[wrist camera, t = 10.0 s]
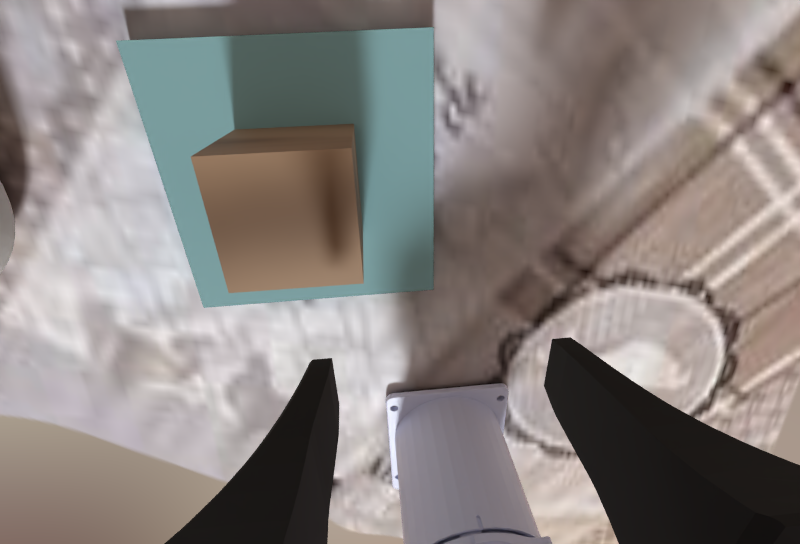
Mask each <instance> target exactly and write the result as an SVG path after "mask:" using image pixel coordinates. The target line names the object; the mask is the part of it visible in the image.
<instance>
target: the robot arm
mask: <svg viewBox="0 0 800 544" xmlns="http://www.w3.org/2000/svg"><path fill="white" fill-rule="evenodd" d="M544 387H545V389H546V392H547V395H548V397H549V400H550V403H551V405H552V408H553V410H554V412H555V415H556V417H557V419H558V420H559V422H560V424H561V426H562V428H563V430H564V431H565V433H566V435H567V437H568V439H569V441H570V442H571V444H572V446H573V448H574V450H575V451H576V453H577V455H578V457H579V459H580V461H581V462H582V464H583V466H584V468H585V470H586V471H587V473H588V475H589V477H590V479H591V481H592V483H593V485H594V487H595V489H596V491H597V493H598V495H599V497H600V500H601V502H602V504H603V507H604V509H605V511H606V514H607V516H608V518H609V520H610V523H611V525H612V528H613V530H614V533H615V535H616V538H617V540H618V542H619V544H800V465H797V464H795V463H792V462H790V461H787V460H785V459H782V458H779V457H777V456H775V455H772V454H770V453H767V452H765V451H763V450H760V449H758V448H756V447H753V446H751V445H749V444H746V443H744V442H742V441H740V440H737V439H735V438H733V437H731V436H729V435H727V434H725V433H723V432H721V431H718V430H716V429H714V428H712V427H710V426H708V425H706V424H704V423H702V422H700V421H698V420H697V419H695V418H693V417H691V416H689V415H688V414H686V413H684V412H682V411H680V410H678V409H677V408H675V407H673V406H671V405H670V404H668V403H666V402H664V401H663V400H661V399H660V398H658V397H656V396H655V395H653V394H652V393H650V392H648V391H647V390H645V389H644V388H642V387H641V386H639V385H638V384H636V383H634V382H633V381H631V380H630V379H629V378H627V377H626V376H624V375H623V374H621V373H620V372H618V371H617V370H616V369H614V368H613V367H611V366H610V365H608V364H607V363H606V362H604V361H603V360H601V359H600V358H599V357H597V356H596V355H595V354H593V353H592V352H590V351H589V350H588V349H586V348H585V347H583V346H582V345H581V344H579V343H578V342H576V341H575V340H573V339H572V338H559V339H552V344H551V349H550V355H549V360H548V366H547V372H546V377H545V383H544ZM508 392H509V391H508V388H507V386H506V385H505V384H503V383H498V384H487V385H477V386H466V387H455V388H444V389H433V390H422V391H411V392H401V393H392V394H389V395H388V396H387V397H386V409H387V422H388V435H389V447H390V460H391V473H392V486H393V487H394V488H395V489H399V494H400V505H401V517H402V528H403V540H404V544H552V542H551V539H550V537H548V536H546V537H541V536H540V534H539V531H538V528H537V525H536V523H535V520H534V517H533V515H532V512H531V509H530V507H529V504H528V501H527V498H526V496H525V493H524V490H523V488H522V485H521V482H520V479H519V477H518V474H517V471H516V469H515V466H514V463H513V461H512V458H511V455H510V452H509V450H508V447H507V444H506V442H505V439H504V436H503V433H504V425H505V417H506V408H507V400H508ZM498 396H500V397H498ZM392 406H395V407H392ZM338 436H339V401H338V394H337V388H336V381H335V375H334V369H333V362H332V358H328V359H317V360H312V361H311V362H310V363H309V365H308V368H307V370H306V372H305V374H304V376H303V378H302V380H301V382H300V383H299V385H298V387H297V389H296V391H295V392H294V394H293V396H292V397H291V399H290V401H289V402H288V404H287V406H286V407H285V409H284V411H283V412H282V414H281V415H280V417H279V418H278V420H277V421H276V423H275V424H274V426H273V427H272V429H271V430H270V432H269V433H268V434H267V436H266V437H265V439H264V440H263V441H262V443H261V444H260V445H259V447H258V448H257V449H256V451H255V452H254V453H253V454H252V456H251V457H250V458H249V459H248V460H247V462H246V463H245V464H244V465H243V466H242V468H241V469H240V470H239V471H238V472H237V473H236V474H235V476H234V477H233V478H232V479H231V480H230V481H229V482H228V483H227V485H226V486H225V487H224V488H223V489H222V490H221V491H220V492H219V493H218V494H217V495H216V496H215V497H214V498H213V499H212V500H211V501H210V502H209V503H208V504H207V505H206V506H205V507H204V508H203V509H202V510H201V511H200V512H199V513H198V514H197V515H196V516H195V517H194V518H193V519H192V520H191V521H190V522H189V523H187V524H186V525H185V526H184V527H183V528H182V529H181V530H180V531H179V532H177V533H176V534H175V535H174V536H173V537H172V538H171V539H170V540H168V541H167V542H166V543H165V544H327V537H328V517H329V506H330V498H331V490H332V483H333V475H334V467H335V460H336V452H337V444H338Z"/></svg>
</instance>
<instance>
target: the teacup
mask: <svg viewBox="0 0 800 544" xmlns="http://www.w3.org/2000/svg"><path fill="white" fill-rule="evenodd" d="M14 239H15V221H14V215H13V211H12V207H11V203H10V201H9V199H8V196H7V194H6V192H5V189H4V187H3V185H2V183H1V181H0V273H1V272H2V271H3V269H4V268H5V266H6V264H7V262H8V260H9V258H10V255H11V253H12V250H13V245H14Z"/></svg>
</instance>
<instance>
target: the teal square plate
mask: <svg viewBox="0 0 800 544" xmlns="http://www.w3.org/2000/svg"><path fill="white" fill-rule="evenodd" d="M116 42H117V45H118V48H119V51H120V54H121V57H122V60H123V63H124V66H125V69H126V73H127V76H128V79H129V82H130V85H131V88H132V91H133V94H134V97H135V100H136V103H137V106H138V109H139V112H140V115H141V118H142V121H143V124H144V127H145V130H146V133H147V136H148V140H149V143H150V146H151V149H152V152H153V155H154V158H155V161H156V164H157V167H158V170H159V173H160V176H161V179H162V182H163V185H164V188H165V191H166V194H167V197H168V200H169V204H170V207H171V210H172V213H173V216H174V219H175V222H176V225H177V228H178V231H179V234H180V237H181V240H182V243H183V246H184V249H185V252H186V255H187V258H188V261H189V264H190V267H191V271H192V274H193V277H194V280H195V283H196V286H197V289H198V292H199V295H200V298H201V301H202V304H203V307H204V308H206V307H219V306H231V305H244V304H257V303H270V302H282V301H295V300H308V299H321V298H333V297H346V296H359V295H372V294H384V293H397V292H410V291H423V290H434V27H427V28H404V29H380V30H357V31H334V32H310V33H287V34H263V35H240V36H217V37H193V38H170V39H147V40H123V41H116ZM337 124H354V130H355V142H356V154H357V166H358V178H359V189H360V201H361V213H362V225H363V270H364V284H350V285H336V286H322V287H308V288H294V289H280V290H267V291H253V292H239V293H229V292H228V289H227V285H226V282H225V278H224V275H223V271H222V267H221V264H220V260H219V257H218V253H217V250H216V246H215V242H214V239H213V235H212V232H211V228H210V225H209V221H208V217H207V214H206V210H205V207H204V203H203V200H202V196H201V192H200V189H199V185H198V182H197V178H196V175H195V171H194V167H193V164H192V160H191V156H192V155H194V154H196V153H197V152H199V151H200V150H202V149H204V148H205V147H207V146H209V145H210V144H212V143H213V142H215V141H217V140H218V139H220V138H222V137H223V136H225V135H226V134H228V133H230V132H231V131H233V130H235V129H256V128H276V127H296V126H316V125H337Z"/></svg>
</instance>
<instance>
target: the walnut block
mask: <svg viewBox="0 0 800 544" xmlns="http://www.w3.org/2000/svg"><path fill="white" fill-rule="evenodd" d="M191 160H192V164H193V167H194V171H195V175H196V178H197V182H198V185H199V189H200V192H201V196H202V200H203V203H204V207H205V210H206V214H207V217H208V221H209V225H210V228H211V232H212V235H213V239H214V242H215V246H216V250H217V253H218V257H219V260H220V264H221V267H222V271H223V275H224V278H225V282H226V285H227V289H228V292H229V293H239V292H253V291H267V290H280V289H294V288H308V287H322V286H336V285H350V284H364V270H363V225H362V213H361V201H360V189H359V178H358V166H357V154H356V142H355V130H354V124H337V125H316V126H296V127H276V128H256V129H235V130H233V131H231V132H230V133H228V134H226V135H225V136H223V137H222V138H220V139H218V140H217V141H215V142H213V143H212V144H210V145H209V146H207V147H205V148H204V149H202V150H200V151H199V152H197V153H196V154H194V155H192V156H191Z"/></svg>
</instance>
